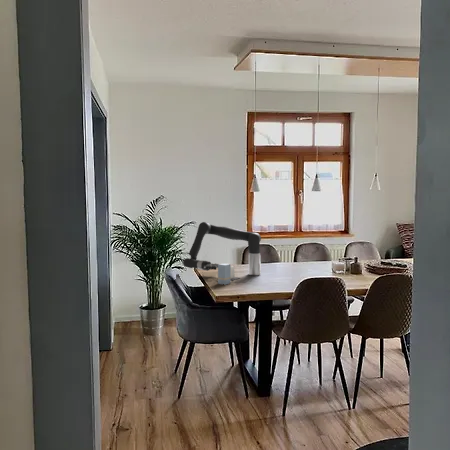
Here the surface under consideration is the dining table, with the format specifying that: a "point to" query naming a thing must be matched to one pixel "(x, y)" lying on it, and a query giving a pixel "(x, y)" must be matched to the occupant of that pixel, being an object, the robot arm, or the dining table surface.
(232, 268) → the lid
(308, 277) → the dining table surface
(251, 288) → the dining table surface
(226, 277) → the grey piece
